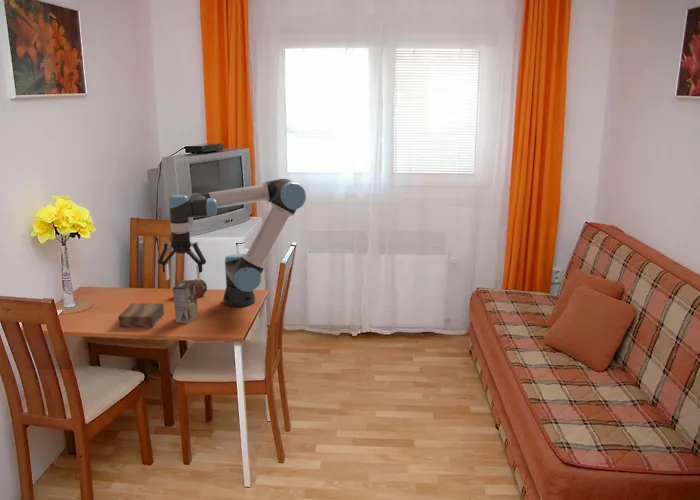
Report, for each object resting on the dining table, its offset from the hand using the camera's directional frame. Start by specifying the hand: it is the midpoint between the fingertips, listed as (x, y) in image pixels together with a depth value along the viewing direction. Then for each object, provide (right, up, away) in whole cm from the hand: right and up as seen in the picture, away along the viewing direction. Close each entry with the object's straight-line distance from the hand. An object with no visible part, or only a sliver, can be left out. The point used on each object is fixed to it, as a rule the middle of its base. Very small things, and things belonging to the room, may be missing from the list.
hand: (183, 279), depth 256 cm
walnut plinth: (-19, -18, +3) cm, 26 cm away
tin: (-6, -10, +35) cm, 37 cm away
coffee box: (0, -18, +5) cm, 19 cm away
